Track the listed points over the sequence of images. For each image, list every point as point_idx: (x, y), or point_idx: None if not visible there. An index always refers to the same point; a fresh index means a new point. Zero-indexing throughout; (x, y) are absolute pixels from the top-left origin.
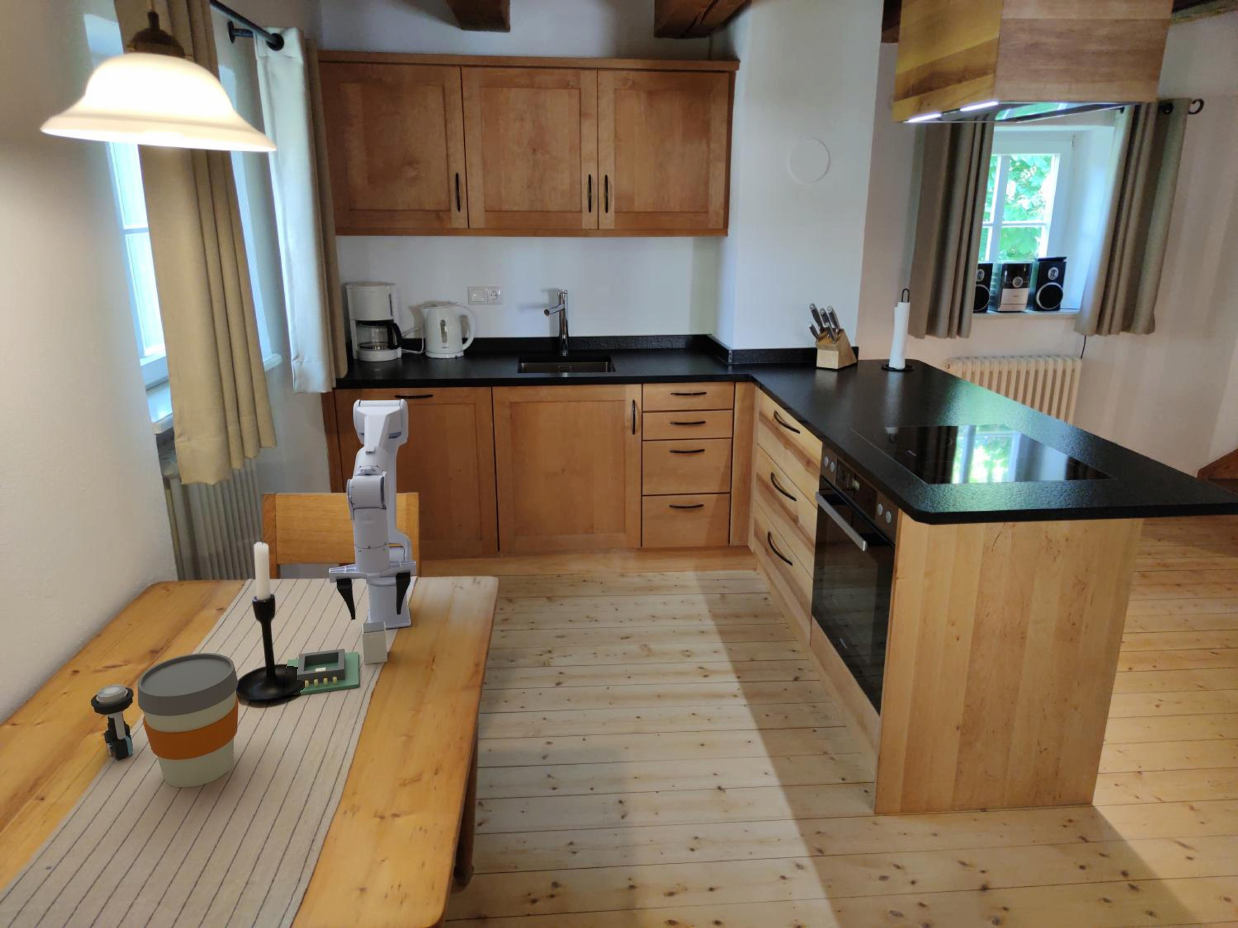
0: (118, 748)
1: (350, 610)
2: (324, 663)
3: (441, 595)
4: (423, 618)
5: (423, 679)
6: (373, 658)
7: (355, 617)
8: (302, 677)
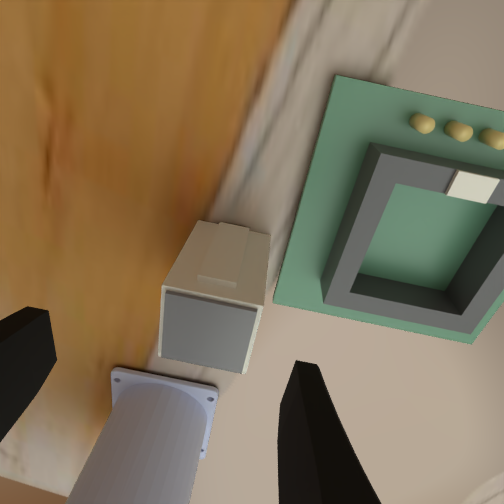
0: None
1: (334, 423)
2: (389, 280)
3: (44, 444)
4: (83, 383)
5: (81, 13)
6: (239, 232)
7: (291, 376)
8: None
